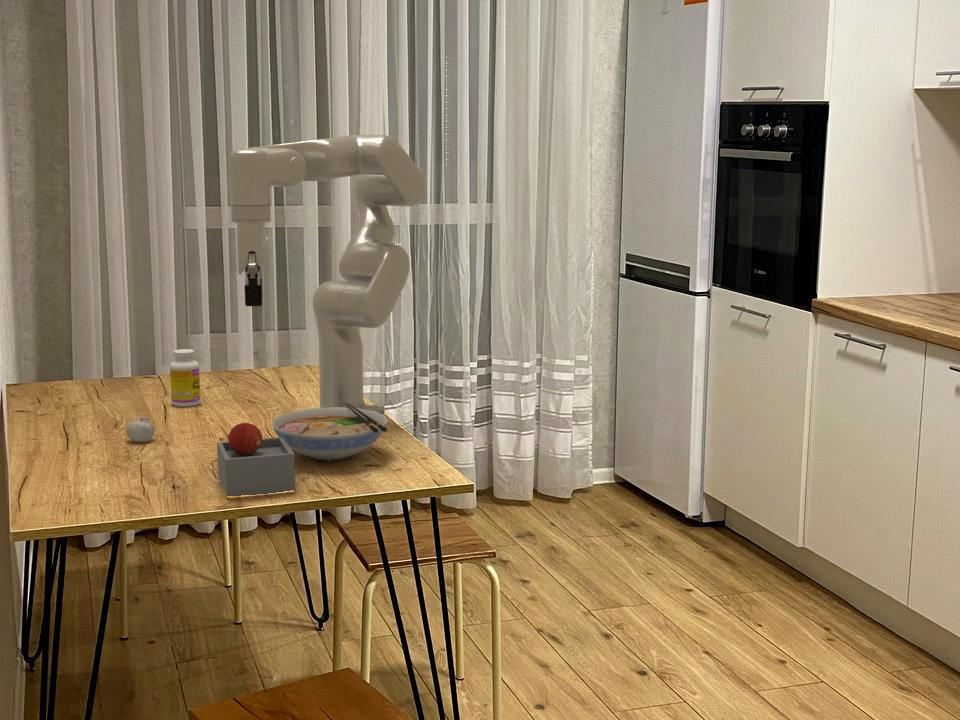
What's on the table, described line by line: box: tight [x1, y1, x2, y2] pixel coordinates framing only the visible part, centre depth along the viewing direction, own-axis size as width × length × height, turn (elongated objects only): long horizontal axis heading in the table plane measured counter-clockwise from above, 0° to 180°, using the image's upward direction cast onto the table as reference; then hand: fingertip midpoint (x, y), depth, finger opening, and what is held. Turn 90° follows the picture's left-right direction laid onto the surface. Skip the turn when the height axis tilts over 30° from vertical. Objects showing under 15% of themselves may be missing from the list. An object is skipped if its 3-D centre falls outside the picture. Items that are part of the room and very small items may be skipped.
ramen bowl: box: [271, 403, 388, 462], centre depth 222 cm, size 25×23×8 cm
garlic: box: [126, 416, 156, 444], centre depth 233 cm, size 6×5×5 cm
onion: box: [226, 422, 263, 455], centre depth 203 cm, size 6×6×8 cm
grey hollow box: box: [216, 437, 296, 497], centre depth 203 cm, size 12×12×8 cm
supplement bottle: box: [169, 348, 201, 408], centre depth 264 cm, size 7×7×13 cm
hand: (253, 302), depth 220 cm, fingers open, 9 cm apart
